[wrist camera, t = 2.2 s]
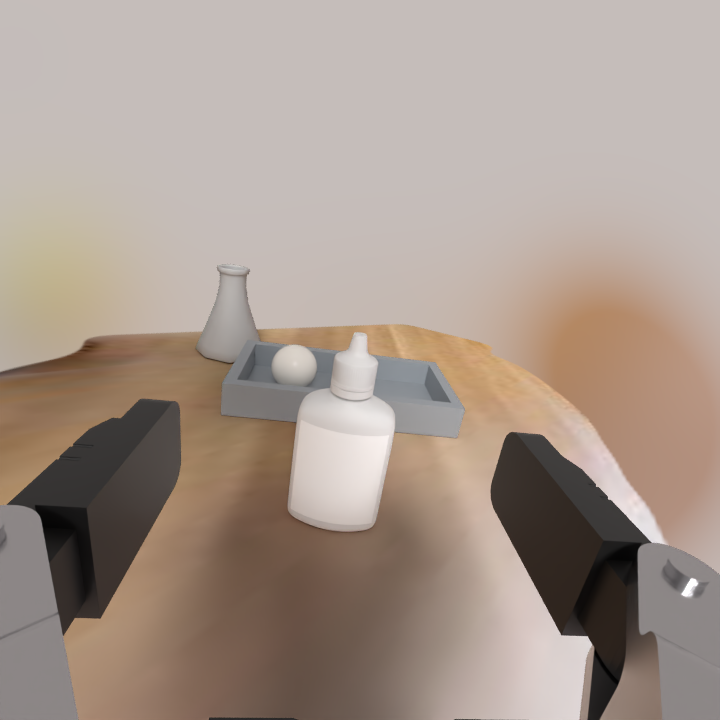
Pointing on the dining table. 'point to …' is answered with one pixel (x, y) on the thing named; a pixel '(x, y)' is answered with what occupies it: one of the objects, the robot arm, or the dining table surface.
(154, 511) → the robot arm
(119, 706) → the dining table surface
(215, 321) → the flask
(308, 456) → the eye dropper bottle
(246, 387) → the holder
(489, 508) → the dining table surface
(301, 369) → the ceramic egg
